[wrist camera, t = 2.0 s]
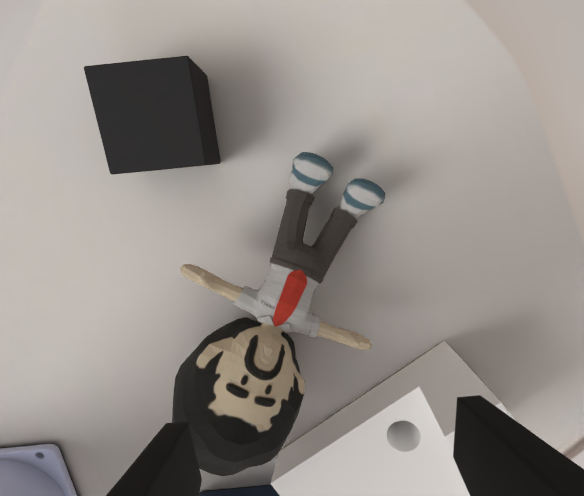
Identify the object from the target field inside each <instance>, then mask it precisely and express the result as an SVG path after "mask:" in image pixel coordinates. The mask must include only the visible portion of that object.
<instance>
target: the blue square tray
mask: <svg viewBox="0 0 584 496" xmlns="http://www.w3.org/2000/svg"><path fill="white" fill-rule="evenodd" d="M199 496H280V495H279V494H278V493H277V491H276V490H275V489H274V488H273V486H272V485H268V486H257V487H247V488H236V489H226V490H215V491H205V492H200V494H199Z"/></svg>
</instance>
